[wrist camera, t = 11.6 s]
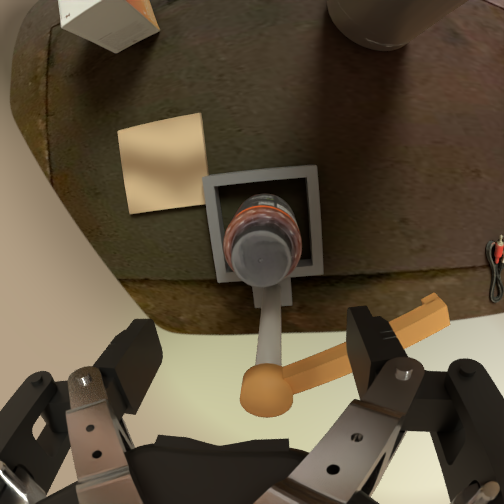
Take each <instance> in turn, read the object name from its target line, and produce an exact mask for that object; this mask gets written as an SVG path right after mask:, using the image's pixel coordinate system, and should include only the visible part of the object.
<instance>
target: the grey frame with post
mask: <svg viewBox="0 0 504 504" xmlns="http://www.w3.org/2000/svg"><path fill="white" fill-rule="evenodd" d="M304 177H305V182H306V193H307V206H308V220H309V234H310V251H311V259H304V260H299V262H298V264H297V266H296V268H295V269H294V270H293V271H292V273H291V274H289V275H288V276H287V277H285V278H284V279H282V280H281V281H280V282H279V283H277V284H275V285H273V286H270V287H254V286H252V289H253V297H254V305H255V308H261V317H260V326H259V337H258V345H257V355H256V364H255V365H258V364H262V363H271V364H276V365H279V366H281V306H291V305H292V292H291V278H290V277H300V276H312V275H323V249H322V229H321V212H320V198H319V184H318V172H317V165H301V166H289V167H277V168H267V169H257V170H247V171H238V172H230V173H222V174H214V175H208V176H204V177H202V182H203V189H204V196H205V203H206V210H207V217H208V224H209V231H210V237H211V244H212V250H213V257H214V263H215V269H216V275H217V281H218V283H221V282H235V281H242V280H241V279H240V278H239V277H238V276H237V275H236V273H235V272H234V271H233V270H232V269H231V268H230V266H229V265H228V263H227V261H226V258H225V255H224V250H223V241H224V235H225V234H224V227H223V220H222V212H221V205H220V197H219V190H218V186H222V185H231V184H239V183H249V182H258V181H269V180H280V179H291V178H304Z"/></svg>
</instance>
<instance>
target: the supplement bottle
mask: <svg viewBox="0 0 504 504" xmlns="http://www.w3.org/2000/svg"><path fill="white" fill-rule="evenodd" d="M223 250H224V255H225V258H226V261H227V263H228V265H229V266H230V268H231V269H232V270H233V271H234V272H235V273H236V275H237V276H238V277H239V278H240V279H241V280H242V281H243V282H245V283H246V284H248V285H251V286H254V287H270V286H273V285H275V284H277V283H279V282H280V281H281V280H282V279H284V278H285V277H287V276H288V275H289V274H291V273H292V271H293V270H294V269H295V268H296V266H297V264H298V262H299V260H300V257H301V253H302V239H301V235H300V231H299V228H298V225H297V222H296V219H295V215H294V213H293V211H292V209H291V207H290V206H289V204H288V203H287V202H286V201H284V200H283V199H282V198H280V197H278V196H276V195H273V194H265V193H264V194H257V195H254V196H252V197H250V198H248V199H247V200H245V201H244V202H243V203H242V205H241V206H240V207H239V209H238V210H237V212H236V213H235V215H234V217H233V219H232V220H231V222H230V224H229V226H228V228H227V230H226V232H225V235H224V241H223Z"/></svg>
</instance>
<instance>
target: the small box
mask: <svg viewBox="0 0 504 504" xmlns="http://www.w3.org/2000/svg"><path fill="white" fill-rule="evenodd" d="M58 4H59V11H60V21H61V28H62V29H65V30H67V31H69V32H72V33H74V34H76V35H78V36H80V37H83V38H85V39H87V40H89V41H91V42H93V43H95V44H97V45H99V46H101V47H104V48H105V49H108V50H110V51H112V52H114V53H118V52H120V51H122V50H124V49H126V48H127V47H129V46H131V45H133V44H135V43H137V42H139V41H141V40H143V39H145V38H147V37H149V36H151V35H153V34H155V33H157V32H159V31H160V29H159V27H158V24H157V22H156V19H155V16H154V13H153V10H152V7H151V4H150V1H149V0H58Z"/></svg>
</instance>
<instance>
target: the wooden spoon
mask: <svg viewBox="0 0 504 504" xmlns="http://www.w3.org/2000/svg"><path fill="white" fill-rule="evenodd" d="M421 301H422V306H420V307H418V308H416V309H414V310H412V311H410V312H408V313H406V314H404V315H402V316H400V317H398V318H396V319H394V320H392V321H390V322H389V324H390V325H391V327H392V329H393V331H394V332H395V334H396V337H397V338H398V339H399V341H400V343H401V345H402V347H403V349H405V348H407V347H409V346H411V345H413V344H415V343H417V342H419V341H421V340H423V339H425V338H427V337H428V336H430V335H432V334H434V333H436V332H438V331H440V330H442V329H443V328H445V327H447V326H449V325H450V320H449V315H448V309H447V305H446V304H445V303H444V302H443V301H442V300H441V299H440V298H439V297H438V296H437V295H436V294H435V292H434V293H432V294H430V295H428V296H427V297H425V298H423V299H421ZM350 373H352V369H351V365H350V362H349V358H348V355H347V348H346V342H344V343H342V344H340V345H337V346H335V347H333V348H330V349H328V350H325V351H323V352H320V353H318V354H316V355H313V356H310V357H308V358H305V359H303V360H300V361H297V362H295V363H292V364H289V365H287V366H284V367H282V366H279V365H276V364H271V363H262V364H258V365H255V366H253V367H251V368H250V369H248V370H247V371H246V373H245V374H244V376H243V382H242V388H241V394H240V403H241V405H242V407H243V408H244V409H245V410H246V411H247V412H249V413H250V414H253V415H255V416H258V417H266V418H268V417H276V416H279V415H282V414H284V413H285V412H286V411H288V410H289V409H290V407H291V405H292V403H293V395H294V394H297V393H299V392H303V391H305V390H308V389H311V388H314V387H316V386H319V385H322V384H324V383H327V382H330V381H332V380H335V379H337V378H340V377H342V376H345V375H347V374H350Z"/></svg>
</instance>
